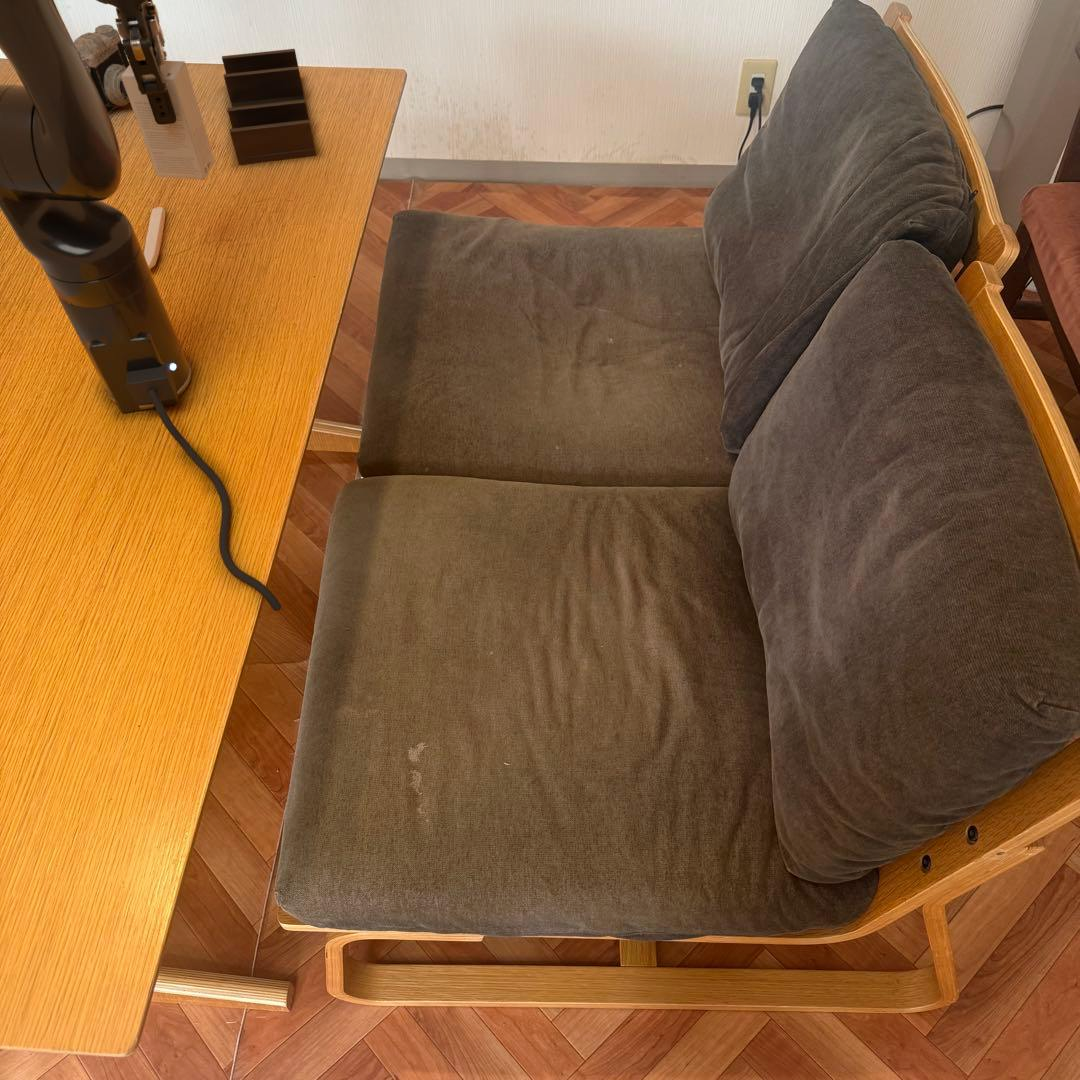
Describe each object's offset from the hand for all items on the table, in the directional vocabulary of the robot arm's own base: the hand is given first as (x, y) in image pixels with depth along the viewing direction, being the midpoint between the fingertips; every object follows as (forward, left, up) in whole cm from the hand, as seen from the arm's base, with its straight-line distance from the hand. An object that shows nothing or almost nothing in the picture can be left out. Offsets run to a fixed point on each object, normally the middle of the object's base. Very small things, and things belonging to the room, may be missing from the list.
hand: (166, 108), depth 101 cm
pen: (+3, +7, -19) cm, 21 cm away
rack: (+30, -10, -19) cm, 37 cm away
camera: (+39, +13, -19) cm, 45 cm away
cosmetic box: (0, 0, -8) cm, 8 cm away
